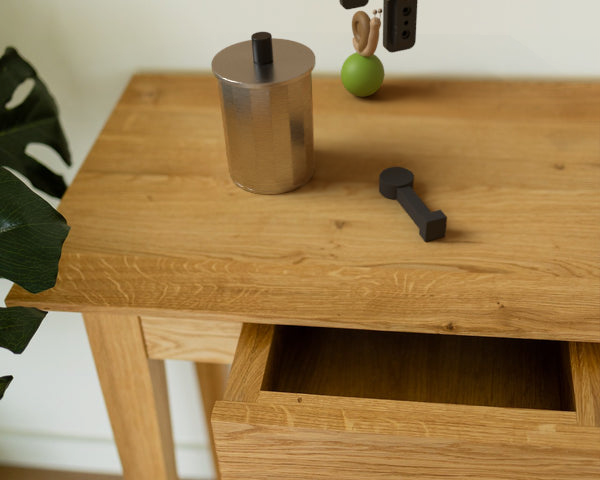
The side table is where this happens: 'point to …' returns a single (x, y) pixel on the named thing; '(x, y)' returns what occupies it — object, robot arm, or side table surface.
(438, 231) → the black disc-ended bar
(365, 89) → the snail figurine
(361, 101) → the side table surface
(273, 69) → the pot lid
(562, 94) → the side table surface
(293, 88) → the pot
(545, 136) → the side table surface
